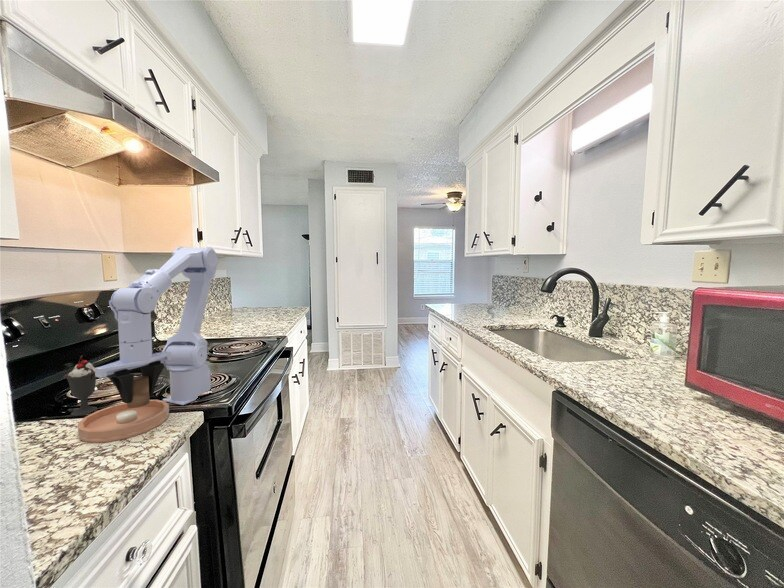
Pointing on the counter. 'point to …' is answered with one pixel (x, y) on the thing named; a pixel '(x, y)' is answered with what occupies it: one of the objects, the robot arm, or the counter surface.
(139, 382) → the brown cylinder
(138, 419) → the groove tray
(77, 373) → the sundae
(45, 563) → the counter surface
